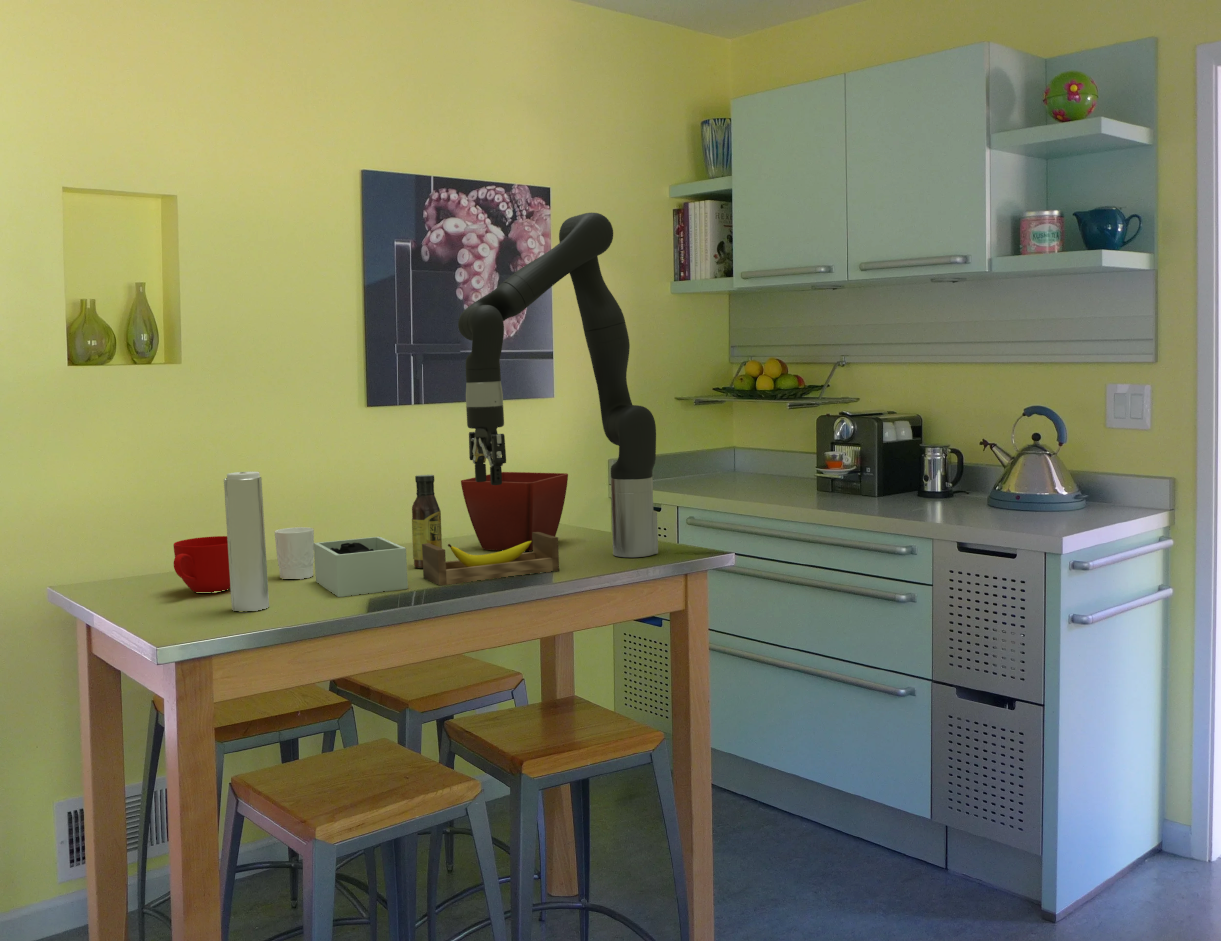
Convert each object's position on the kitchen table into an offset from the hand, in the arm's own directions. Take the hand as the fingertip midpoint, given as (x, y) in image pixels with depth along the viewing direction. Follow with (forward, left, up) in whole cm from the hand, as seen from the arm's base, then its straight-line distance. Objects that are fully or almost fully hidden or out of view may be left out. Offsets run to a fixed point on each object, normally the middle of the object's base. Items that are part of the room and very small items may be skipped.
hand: (488, 483), depth 231 cm
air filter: (+49, +6, -19) cm, 53 cm away
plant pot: (-18, -28, -19) cm, 38 cm away
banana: (0, +1, -18) cm, 18 cm away
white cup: (+35, -21, -19) cm, 45 cm away
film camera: (+26, -4, -19) cm, 32 cm away
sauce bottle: (+8, -16, -19) cm, 26 cm away
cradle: (0, +1, -19) cm, 19 cm away
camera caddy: (+26, -4, -19) cm, 33 cm away
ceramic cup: (+54, -15, -19) cm, 60 cm away
